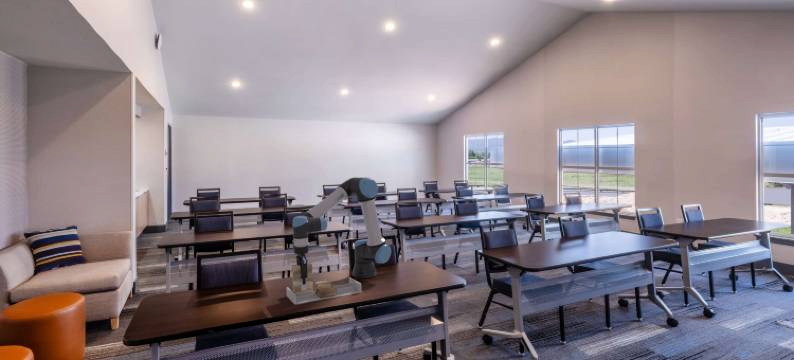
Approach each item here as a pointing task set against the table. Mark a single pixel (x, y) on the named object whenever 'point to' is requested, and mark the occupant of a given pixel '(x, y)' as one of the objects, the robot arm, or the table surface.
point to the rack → (340, 291)
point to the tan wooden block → (297, 281)
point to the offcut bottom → (324, 294)
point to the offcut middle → (326, 290)
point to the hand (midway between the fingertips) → (302, 289)
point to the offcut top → (323, 285)
